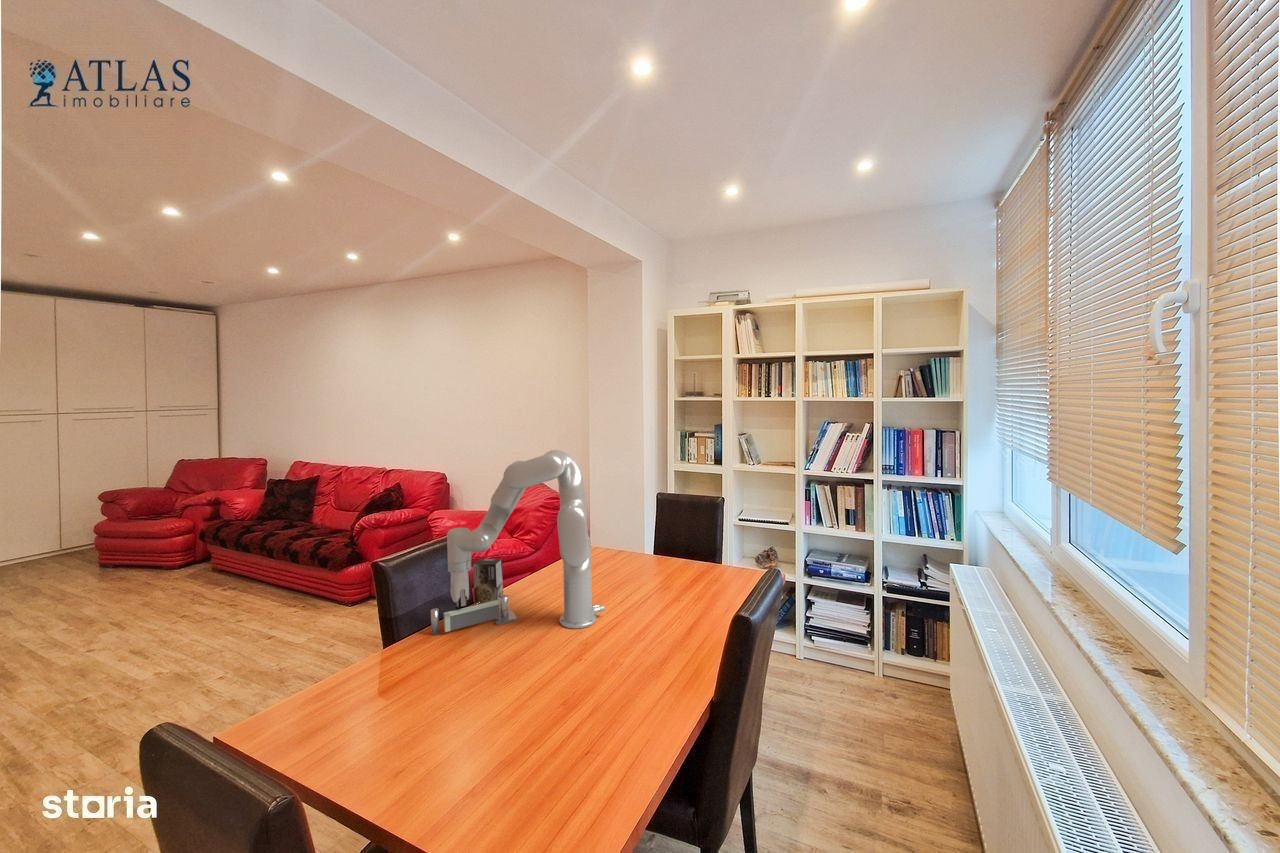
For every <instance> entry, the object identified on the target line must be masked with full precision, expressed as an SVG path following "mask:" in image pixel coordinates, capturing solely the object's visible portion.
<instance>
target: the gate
mask: <svg viewBox="0 0 1280 853" xmlns="http://www.w3.org/2000/svg"><path fill="white" fill-rule="evenodd" d="M499 614H500V604H499V601H498V600H495V601H491V602H487V603H483V604H478V605H475V604H474V605H471V606H466V608H462V609H458V610H456V609H455V610H449V611H445V612H443V630H444V632H445V633H448V632H451V631H454V630H458V629H461V628H465V627H469V626H473V625H476V624H477V625H478V624H480V623H484V622H488V621H492V620H493V621H494V619H496V618H499Z"/></svg>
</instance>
